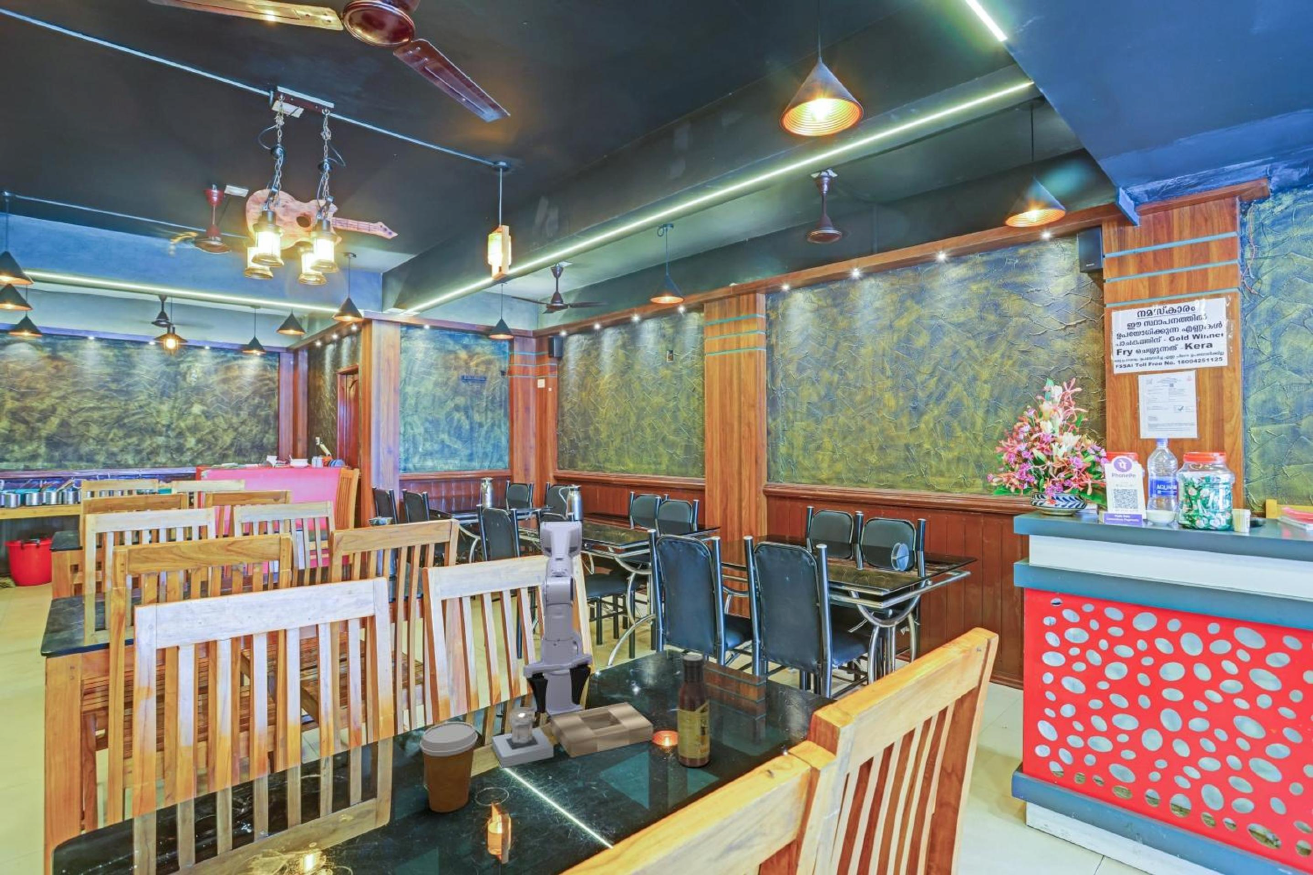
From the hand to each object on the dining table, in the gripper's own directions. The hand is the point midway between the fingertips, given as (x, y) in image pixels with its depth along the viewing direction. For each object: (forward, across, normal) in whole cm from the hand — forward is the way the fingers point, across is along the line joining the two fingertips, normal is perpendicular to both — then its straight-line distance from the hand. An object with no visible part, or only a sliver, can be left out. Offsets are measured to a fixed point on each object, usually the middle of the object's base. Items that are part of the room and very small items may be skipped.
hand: (558, 707), depth 126 cm
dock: (+9, +12, +4) cm, 16 cm away
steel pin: (+10, -5, +7) cm, 13 cm away
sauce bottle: (+10, +20, -17) cm, 28 cm away
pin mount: (+10, -5, +7) cm, 13 cm away
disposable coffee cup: (+10, -23, -3) cm, 25 cm away
